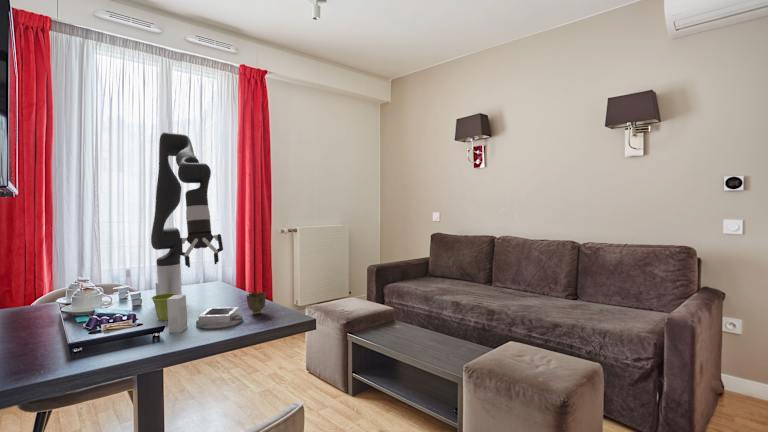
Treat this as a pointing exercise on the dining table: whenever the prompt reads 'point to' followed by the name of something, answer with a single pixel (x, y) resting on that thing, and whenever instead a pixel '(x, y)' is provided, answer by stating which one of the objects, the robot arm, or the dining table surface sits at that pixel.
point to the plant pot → (162, 305)
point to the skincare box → (177, 313)
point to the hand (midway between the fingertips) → (202, 265)
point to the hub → (219, 318)
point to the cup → (256, 302)
